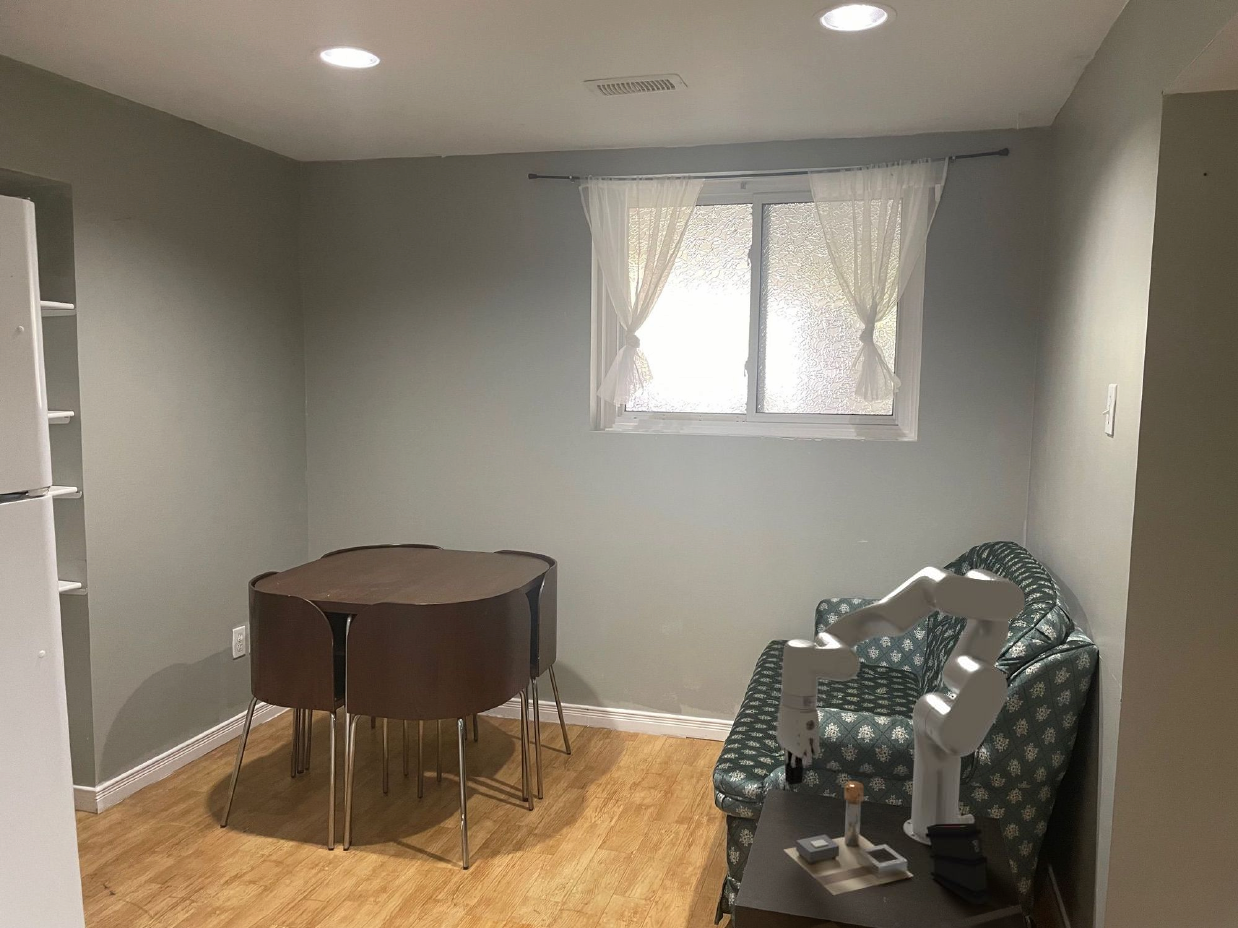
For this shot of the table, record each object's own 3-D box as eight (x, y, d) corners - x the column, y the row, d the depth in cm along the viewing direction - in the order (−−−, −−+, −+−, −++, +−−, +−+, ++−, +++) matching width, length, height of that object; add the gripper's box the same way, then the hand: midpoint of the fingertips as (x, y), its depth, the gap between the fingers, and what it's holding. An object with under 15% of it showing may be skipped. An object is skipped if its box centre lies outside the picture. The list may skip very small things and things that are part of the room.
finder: (824, 847, 199) (825, 832, 198) (838, 859, 194) (839, 844, 194) (796, 853, 196) (796, 838, 196) (809, 865, 192) (810, 850, 191)
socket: (884, 855, 196) (885, 843, 196) (906, 872, 190) (907, 860, 189) (856, 861, 193) (857, 850, 193) (878, 879, 187) (878, 867, 187)
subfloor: (858, 837, 205) (858, 833, 205) (913, 880, 189) (913, 875, 188) (783, 854, 198) (783, 849, 198) (833, 899, 181) (833, 894, 181)
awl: (853, 837, 203) (856, 779, 202) (864, 846, 200) (867, 787, 198) (838, 840, 202) (841, 782, 200) (849, 849, 198) (852, 790, 197)
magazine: (987, 911, 175) (964, 826, 180) (938, 907, 186) (917, 827, 191) (1002, 906, 177) (978, 822, 181) (952, 902, 188) (931, 823, 192)
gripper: (834, 709, 194) (828, 795, 196) (794, 685, 208) (789, 765, 210) (803, 713, 191) (797, 800, 193) (765, 688, 205) (760, 769, 207)
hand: (793, 781), depth 202 cm, fingers closed
